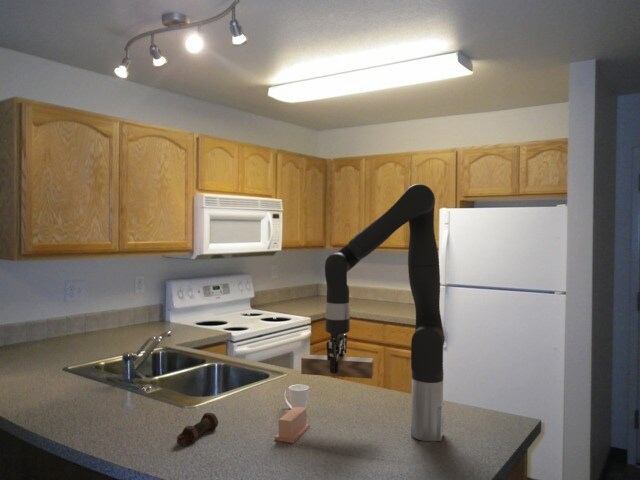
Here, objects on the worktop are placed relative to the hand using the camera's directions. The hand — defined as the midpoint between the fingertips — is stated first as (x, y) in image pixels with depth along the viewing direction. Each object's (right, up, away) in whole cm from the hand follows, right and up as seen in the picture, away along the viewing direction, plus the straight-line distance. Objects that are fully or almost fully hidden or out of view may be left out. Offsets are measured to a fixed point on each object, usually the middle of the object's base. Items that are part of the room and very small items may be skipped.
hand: (336, 370), depth 165 cm
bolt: (-42, -18, -9) cm, 46 cm away
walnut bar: (0, -1, 0) cm, 1 cm away
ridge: (-13, -17, -6) cm, 23 cm away
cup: (-14, -17, +14) cm, 26 cm away
